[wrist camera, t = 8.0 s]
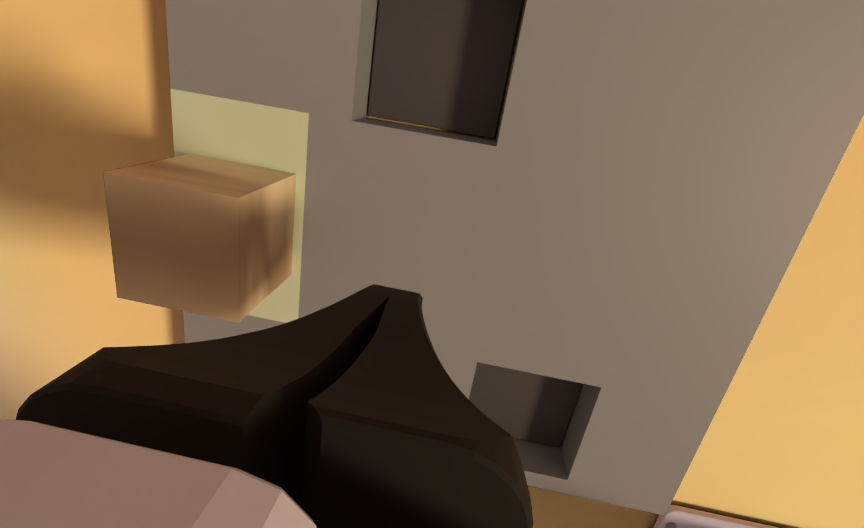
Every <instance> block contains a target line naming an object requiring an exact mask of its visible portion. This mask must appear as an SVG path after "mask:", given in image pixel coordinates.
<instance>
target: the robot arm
mask: <svg viewBox="0 0 864 528" xmlns="http://www.w3.org/2000/svg"><path fill="white" fill-rule="evenodd" d="M422 302H423V298H422V296H421V295H420V293H416V292H411V291H406V290H401V289H396V288H391V287H386V286H381V285H376V284H373V285H370V286H368V287H366V288H364V289H362V290H360V291H358V292H356V293H354V294H352V295H350V296H348V297H346V298H344V299H342V300H340V301H338V302H336V303H334V304H332V305H330V306H328V307H325V308H323V309H321V310H318V311H316V312H314V313H311V314H309V315H306V316H304V317H302V318H299V319H296V320H293V321H290V322H287V323H284V324H281V325H277V326H274V327H271V328H267V329H263V330H259V331H255V332H250V333H245V334H240V335H236V336H231V337H226V338H220V339H214V340H207V341H200V342H191V343H182V344H171V345H156V346H134V347H104V348H102V349H100V350H99V351H97V352H96V353H94V354H93V355H91V356H90V357H88V358H87V359H85V360H84V361H82V362H80V363H79V364H77V365H76V366H74V367H73V368H71V369H70V370H68V371H67V372H65V373H64V374H62V375H60V376H59V377H57V378H56V379H54V380H53V381H51V382H50V383H48V384H47V385H45V386H44V387H42V388H40V389H39V390H37V391H36V392H34V393H33V394H31V395H30V396H29V397H28V398H27V400H26V401H25V402H24V403H23V404H22V406H21V407H20V408H19V410H18V413H17V417H16V420H0V528H532V526H533V518H532V506H531V500H530V494H529V490H528V485H527V481H526V477H525V473H524V469H523V466H522V462H521V459H520V456H519V452H518V449H517V446H516V443H515V440H514V438H513V437H512V435H511V434H509V433H508V432H507V431H505V430H504V429H503V428H501V427H500V426H499V425H498V424H496V423H495V422H494V421H492V420H491V419H490V418H488V417H487V416H486V415H485V414H483V413H482V412H481V411H480V410H479V409H478V408H477V407H476V406H475V405H474V404H473V403H472V402H471V401H470V400H469V399H468V398H467V397H466V396H465V395H464V394H463V393H462V392H461V391H460V389H459V388H458V387H457V386H456V384H455V383H454V382H453V381H452V380H451V378H450V377H449V375H448V374H447V372H446V371H445V369H444V367H443V365H442V364H441V362H440V360H439V358H438V356H437V354H436V352H435V350H434V348H433V345H432V343H431V341H430V338H429V335H428V332H427V329H426V325H425V322H424V318H423V313H422ZM669 522H670V523H669ZM653 528H778V527H774V526H769V525H764V524H760V523H755V522H751V521H746V520H741V519H737V518H732V517H727V516H723V515H718V514H714V513H709V512H704V511H700V510H695V509H691V508H686V507H681V506H677V505H670V506H669V508H668V510H667V512H666V514H665V516H664V515H659V517H658V519H657V521H656V523H655V525H654V527H653Z"/></svg>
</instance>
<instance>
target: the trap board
mask: <svg viewBox="0 0 864 528" xmlns="http://www.w3.org/2000/svg"><path fill="white" fill-rule="evenodd" d="M521 2H522V0H379V10H378V20H377V30H376V40H375V50H374V60H373V70H372V80H371V90H370V101H369V111H368V116H373V117H378V118H384V119H390V120H395V121H401V122H407V123H412V124H418V125H424V126H429V127H435V128H441V129H446V130H452V131H458V132H463V133H469V134H474V135H480V136H486V137H491V138H494V135H495V130H496V125H497V120H498V115H499V110H500V105H501V100H502V95H503V90H504V86H505V81H506V76H507V71H508V66H509V61H510V56H511V51H512V46H513V41H514V37H515V32H516V27H517V22H518V17H519V12H520V7H521ZM165 4H166V21H167V39H168V56H169V74H170V91H171V109H172V126H173V144H174V157H178V156H182V155H187V154H195V155H200V156H205V157H211V158H216V159H221V160H226V161H232V162H237V163H242V164H247V165H253V166H258V167H263V168H268V169H274V170H279V171H284V172H289V173H295V174H296V192H295V213H294V233H293V254H292V274H291V275H290V276H289V277H288V278H287V279H286V280H285V281H284V282H283V283H281V284H280V285H279V286H278V287H277V288H276V289H275V290H274V291H273V292H272V293H271V294H269V295H268V296H267V297H266V298H265V299H264V300H263V301H262V302H261V303H260V304H259V305H257V306H256V307H255V308H254V309H253V310H252V311H251V312H250V313H249V314H248V315H247V316H245V317H244V318H243V319H242V320H241V321H240V322H239V323H237V322H232V321H228V320H223V319H218V318H213V317H209V316H204V315H199V314H194V313H190V312H185V311H183V319H184V336H185V343H191V342H200V341H207V340H214V339H220V338H226V337H231V336H236V335H240V334H245V333H250V332H255V331H259V330H263V329H267V328H271V327H274V326H277V325H281V324H284V323H287V322H290V321H293V320H296V319H299V318H302V317H304V316H306V315H309V314H311V313H314V312H316V311H318V310H321V309H323V308H325V307H328V306H330V305H332V304H334V303H336V302H338V301H340V300H342V299H344V298H346V297H348V296H350V295H352V294H354V293H356V292H358V291H360V290H362V289H364V288H366V287H368V286H370V285H373V284H376V285H381V286H386V287H391V288H396V289H401V290H406V291H411V292H416V293H420V295H421V296H422V298H423V302H422V313H423V318H424V322H425V325H426V329H427V332H428V335H429V338H430V341H431V343H432V345H433V348H434V350H435V352H436V354H437V356H438V358H439V360H440V362H441V364H442V365H443V367H444V369H445V371H446V372H447V374H448V375H449V377H450V378H451V380H452V381H453V382H454V383H455V384H456V386H457V387H458V388H459V389H460V391H461V392H462V393H463V394H464V395H465V396H466V397H467V398H468V399H469V400H470V401H471V402H472V403H473V404H474V405H475V406H476V407H477V408H478V409H479V410H480V411H481V412H482V413H483V414H485V415H486V416H487V417H488V418H490V419H491V420H492V421H494V422H495V423H496V424H498V425H499V426H500V427H501V428H503V429H504V430H505V431H507V432H508V433H509V434H511V435H512V437H513V438H514V440H515V443H516V446H517V449H518V452H519V456H520V459H521V462H522V466H523V469H524V473H525V477H526V481H527V485H528V486H531V487H536V488H541V489H545V490H550V491H554V492H559V493H563V494H568V495H573V496H577V497H582V498H586V499H591V500H596V501H600V502H605V503H609V504H614V505H618V506H623V507H628V508H632V509H637V510H641V511H646V512H650V513H655V514H660V515H664V516H665V514H666V512H667V510H668V508H669V506H670V504H671V502H672V500H673V498H674V496H675V494H676V492H677V490H678V488H679V486H680V484H681V482H682V480H683V478H684V476H685V474H686V472H687V470H688V468H689V466H690V463H691V461H692V459H693V457H694V455H695V453H696V451H697V449H698V447H699V445H700V443H701V441H702V439H703V437H704V435H705V433H706V431H707V429H708V427H709V425H710V423H711V421H712V419H713V417H714V415H715V413H716V411H717V409H718V407H719V405H720V403H721V401H722V399H723V397H724V395H725V393H726V391H727V389H728V387H729V385H730V383H731V381H732V379H733V377H734V375H735V373H736V371H737V369H738V367H739V365H740V363H741V361H742V359H743V357H744V355H745V352H746V350H747V348H748V346H749V344H750V342H751V340H752V338H753V336H754V334H755V332H756V330H757V328H758V326H759V324H760V322H761V320H762V318H763V316H764V314H765V312H766V310H767V308H768V306H769V304H770V302H771V300H772V298H773V296H774V294H775V292H776V290H777V288H778V286H779V284H780V282H781V280H782V278H783V276H784V274H785V272H786V270H787V268H788V266H789V264H790V262H791V260H792V258H793V256H794V254H795V252H796V250H797V248H798V246H799V244H800V241H801V239H802V237H803V235H804V233H805V231H806V229H807V227H808V225H809V223H810V221H811V219H812V217H813V215H814V213H815V211H816V209H817V207H818V205H819V203H820V201H821V199H822V197H823V195H824V193H825V191H826V189H827V187H828V185H829V183H830V181H831V179H832V177H833V175H834V173H835V171H836V169H837V167H838V165H839V163H840V161H841V159H842V157H843V155H844V153H845V151H846V149H847V147H848V145H849V143H850V141H851V139H852V137H853V135H854V132H855V130H856V128H857V126H858V124H859V122H860V120H861V118H862V116H863V114H864V0H525V2H524V6H523V11H522V16H521V21H520V26H519V31H518V36H517V40H516V45H515V50H514V55H513V60H512V65H511V69H510V74H509V79H508V84H507V89H506V94H505V99H504V103H503V108H502V113H501V118H500V123H499V128H498V133H497V137H496V141H495V140H490V139H484V138H478V137H473V136H467V135H461V134H456V133H450V132H444V131H439V130H433V129H428V128H422V127H416V126H411V125H405V124H399V123H394V122H388V121H382V120H377V119H371V118H367V108H368V97H369V87H370V77H371V67H372V57H373V47H374V37H375V26H376V16H377V6H378V0H165ZM581 385H582V387H581ZM580 388H581V390H580ZM579 391H580V393H579ZM578 394H579V395H578ZM577 397H578V398H577ZM576 400H577V401H576ZM575 402H576V404H575ZM574 405H575V407H574ZM573 408H574V410H573ZM572 411H573V413H572ZM571 414H572V416H571ZM570 417H571V419H570ZM569 420H570V422H569ZM568 423H569V424H568ZM567 426H568V427H567ZM566 429H567V430H566ZM565 431H566V433H565ZM564 434H565V436H564ZM563 437H564V439H563ZM562 440H563V442H562ZM561 443H562V445H561ZM560 446H561V447H560Z"/></svg>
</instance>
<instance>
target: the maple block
mask: <svg viewBox="0 0 864 528" xmlns="http://www.w3.org/2000/svg"><path fill="white" fill-rule="evenodd" d="M103 176H104V185H105V193H106V202H107V211H108V220H109V229H110V237H111V246H112V255H113V264H114V273H115V281H116V290H117V297H118V298H123V299H128V300H132V301H137V302H142V303H147V304H151V305H156V306H161V307H166V308H170V309H175V310H180V311H185V312H190V313H194V314H199V315H204V316H209V317H213V318H218V319H223V320H228V321H232V322H237V323H239V322H240V321H241V320H242V319H243V318H244V317H245V316H247V315H248V314H249V313H250V312H251V311H252V310H253V309H254V308H255V307H256V306H257V305H259V304H260V303H261V302H262V301H263V300H264V299H265V298H266V297H267V296H268V295H269V294H271V293H272V292H273V291H274V290H275V289H276V288H277V287H278V286H279V285H280V284H281V283H283V282H284V281H285V280H286V279H287V278H288V277H289V276H290V275H291V274H292V254H293V233H294V213H295V192H296V174H295V173H289V172H284V171H279V170H274V169H268V168H263V167H258V166H253V165H247V164H242V163H237V162H232V161H226V160H221V159H216V158H211V157H205V156H200V155H195V154H187V155H182V156H178V157H173V158H168V159H163V160H158V161H153V162H148V163H143V164H138V165H134V166H129V167H124V168H119V169H114V170H109V171H104V172H103Z"/></svg>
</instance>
